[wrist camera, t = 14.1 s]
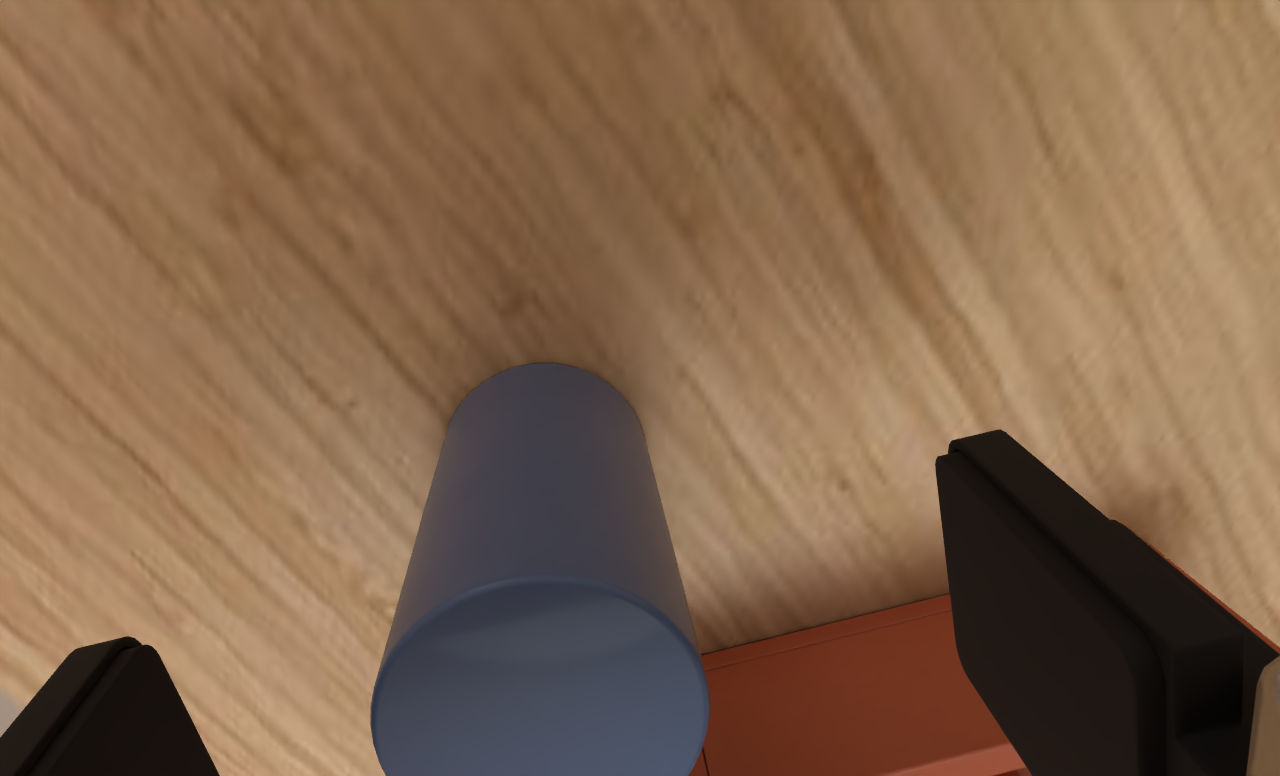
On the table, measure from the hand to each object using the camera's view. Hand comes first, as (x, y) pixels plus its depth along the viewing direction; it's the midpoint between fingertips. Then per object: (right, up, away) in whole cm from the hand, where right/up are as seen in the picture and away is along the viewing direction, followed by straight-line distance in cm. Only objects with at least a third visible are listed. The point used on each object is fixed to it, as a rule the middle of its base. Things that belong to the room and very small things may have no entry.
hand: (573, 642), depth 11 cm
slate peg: (-1, +2, +6) cm, 6 cm away
